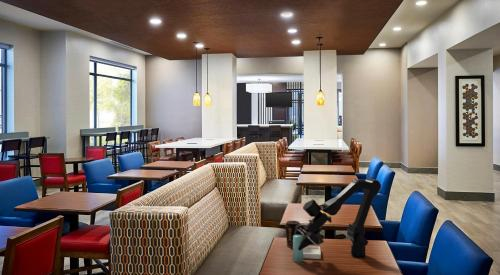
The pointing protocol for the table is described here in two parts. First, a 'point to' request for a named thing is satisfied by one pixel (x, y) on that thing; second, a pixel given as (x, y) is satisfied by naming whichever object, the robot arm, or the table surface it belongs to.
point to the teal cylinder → (296, 253)
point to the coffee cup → (290, 231)
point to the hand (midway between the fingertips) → (295, 247)
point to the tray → (312, 252)
